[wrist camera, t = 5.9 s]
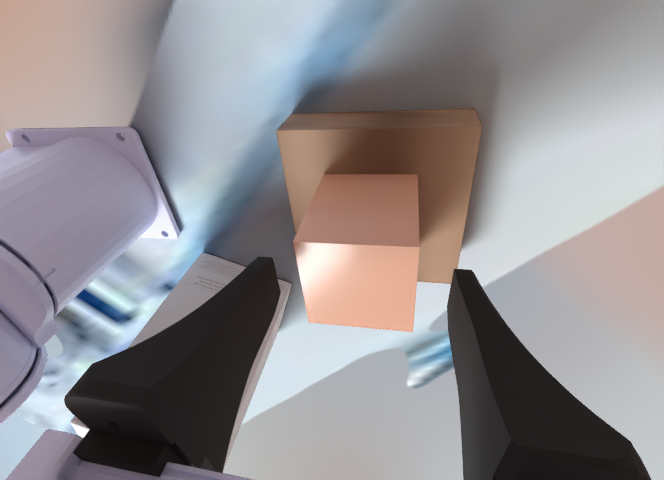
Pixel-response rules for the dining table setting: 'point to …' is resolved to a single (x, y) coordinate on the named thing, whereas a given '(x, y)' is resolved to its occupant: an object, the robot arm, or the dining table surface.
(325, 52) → the dining table surface
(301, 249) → the terracotta block
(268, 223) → the dining table surface
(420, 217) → the walnut box
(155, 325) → the supplement box
